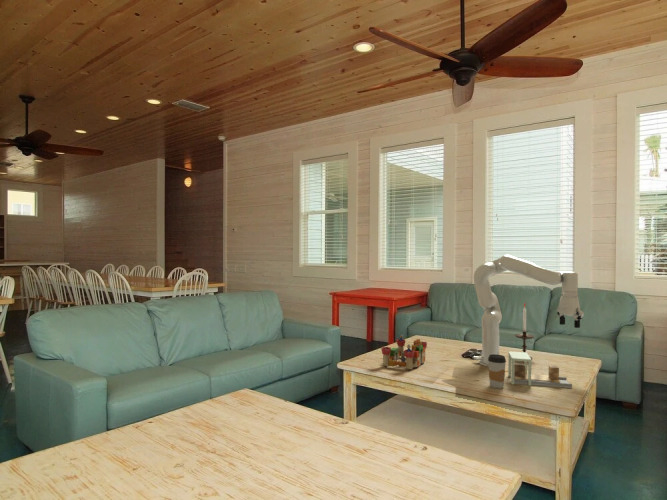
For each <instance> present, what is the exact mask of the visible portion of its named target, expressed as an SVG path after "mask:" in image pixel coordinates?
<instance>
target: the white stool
mask: <svg viewBox="0 0 667 500" xmlns="http://www.w3.org/2000/svg"><path fill="white" fill-rule="evenodd" d="M529 356H530V355H529V354H528V352H527V351H526V352H523V351H508V364H507V366H508V372H507V373H508V375H507V376H508V377H509V378H511V385H515V384H514V364H515V362H524V363H523V365H524V366H525V374H528V385H527V386H530V387H531V386H532V385H531V374H532V360H531V358H530V357H531V356H530V357H529Z"/></svg>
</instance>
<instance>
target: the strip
mask: <svg viewBox="0 0 667 500" xmlns="http://www.w3.org/2000/svg"><path fill="white" fill-rule="evenodd" d="M559 377H560V367H559V366H558V365H551V364H548V374H537V373H536V374H534V373H531V380H532V381H544V382H556V383H560V381H559ZM515 379H520V380H528V373H527V374H525V377H515Z"/></svg>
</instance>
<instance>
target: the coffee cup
mask: <svg viewBox="0 0 667 500" xmlns="http://www.w3.org/2000/svg"><path fill="white" fill-rule="evenodd" d="M488 362H489V366H488V376H489V377H488V378H489V385H490V387H491V388H494V389H504V386H505V376H506V362H507V359H506V356H505V355H502V354H499V355H497V354H492V355H489V357H488Z"/></svg>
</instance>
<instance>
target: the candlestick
mask: <svg viewBox="0 0 667 500" xmlns="http://www.w3.org/2000/svg"><path fill="white" fill-rule="evenodd" d="M521 332H522V333H515V334H514V337H515V338H517V339H522V344H523V345H521V348H522V350H521V352H526V353H527V348H528V346H527V344H526V341H527V340H533V339H535V335H534V334H529V333H527V332H528V330H527V309H526V302H524V303H523V309H522V330H521ZM529 357H530V358H531V361H533V357H532V356H530V355H529Z"/></svg>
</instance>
